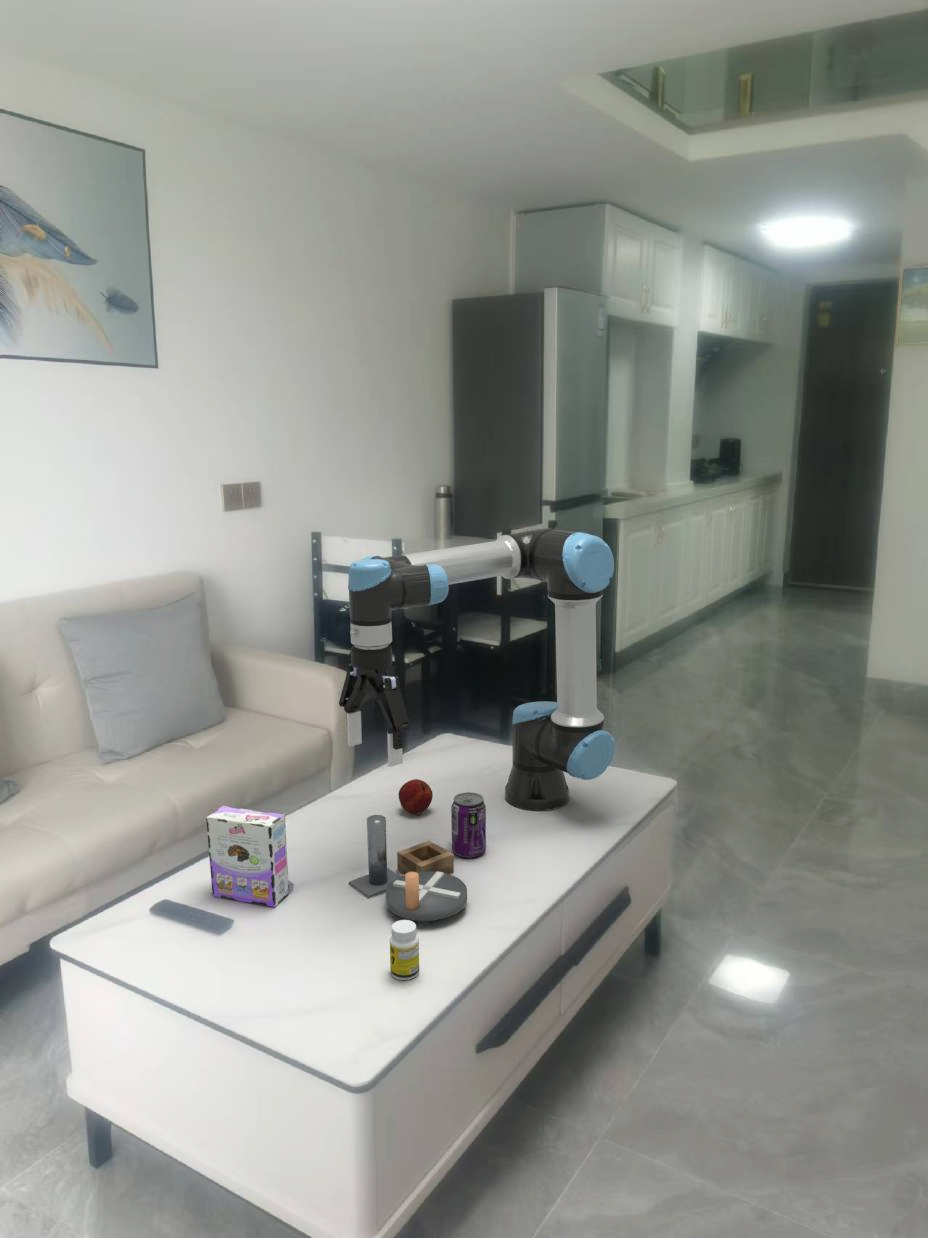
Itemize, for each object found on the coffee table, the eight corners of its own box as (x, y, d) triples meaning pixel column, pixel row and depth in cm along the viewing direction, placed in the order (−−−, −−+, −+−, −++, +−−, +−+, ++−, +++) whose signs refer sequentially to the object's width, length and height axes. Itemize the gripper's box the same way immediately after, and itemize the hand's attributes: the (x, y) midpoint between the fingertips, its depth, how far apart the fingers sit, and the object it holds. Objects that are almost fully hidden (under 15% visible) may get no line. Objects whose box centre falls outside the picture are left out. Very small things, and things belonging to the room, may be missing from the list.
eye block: (429, 858, 190) (429, 840, 189) (453, 873, 184) (453, 854, 183) (397, 870, 185) (397, 852, 184) (421, 885, 179) (421, 866, 178)
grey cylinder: (380, 874, 182) (378, 813, 179) (391, 881, 179) (389, 819, 176) (365, 880, 180) (363, 818, 177) (375, 887, 177) (373, 824, 174)
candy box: (290, 893, 176) (286, 813, 173) (274, 909, 171) (270, 826, 167) (228, 882, 181) (222, 803, 177) (210, 897, 175) (204, 816, 172)
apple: (419, 822, 206) (419, 788, 205) (391, 814, 210) (390, 781, 209) (438, 810, 213) (437, 777, 211) (410, 803, 217) (409, 771, 215)
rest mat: (387, 870, 185) (386, 867, 185) (407, 883, 180) (407, 880, 179) (348, 884, 179) (348, 881, 179) (368, 898, 174) (368, 895, 174)
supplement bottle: (390, 964, 153) (389, 918, 151) (418, 963, 154) (418, 917, 152) (390, 982, 148) (389, 934, 147) (419, 980, 149) (419, 933, 147)
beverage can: (482, 861, 188) (482, 806, 186) (448, 858, 190) (447, 804, 187) (488, 846, 195) (488, 792, 192) (455, 843, 196) (455, 790, 194)
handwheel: (479, 887, 174) (479, 849, 173) (447, 927, 161) (447, 886, 159) (407, 873, 180) (406, 836, 178) (371, 910, 166) (370, 871, 165)
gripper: (318, 635, 176) (322, 741, 181) (393, 661, 157) (396, 778, 162) (351, 629, 181) (355, 732, 185) (428, 654, 162) (430, 768, 167)
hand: (374, 754), depth 174 cm, fingers open, 13 cm apart
